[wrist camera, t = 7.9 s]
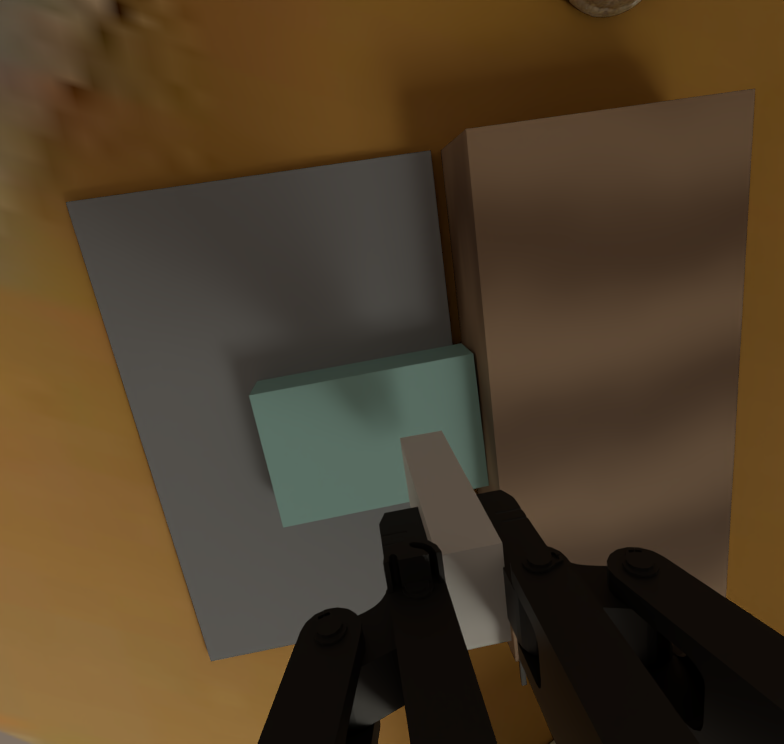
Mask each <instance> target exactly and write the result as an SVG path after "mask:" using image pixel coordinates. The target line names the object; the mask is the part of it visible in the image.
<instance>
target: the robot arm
mask: <svg viewBox="0 0 784 744" xmlns="http://www.w3.org/2000/svg"><path fill="white" fill-rule="evenodd" d="M400 443H401V449H402V456H403V462H404V469H405V475H406V482H407V488H408V495H409V501H410V507H411V508H408V509H403V510H397V511H392V512H387V513H384V515H383V517H382V519H381V521H380V523H379V528H380V535H381V542H382V548H383V555H384V559H383V566H384V572H385V578H386V583H387V590H386V593H385V595H384V597H383V598H382V599H381V601H380V602H379V603H378V604H377V605H375V606H374V607H373V608H371V609H369V610H368V611H366V612H364V613H362V614H360V615H357V614H356V613H355V612H353V611H351V610H349V609H347V608H339V607H336V608H330V609H325V610H323V611H321V612H319V613H317V614H315V615H314V616H313V617H311V618H310V619H309V620H308V621H307V622H306V623H305V625H304V626H303V628H302V629H301V631H300V633H299V636H298V639H297V641H296V644H295V647H294V649H293V652H292V654H291V657H290V660H289V662H288V665H287V668H286V670H285V673H284V675H283V678H282V681H281V683H280V686H279V689H278V691H277V694H276V697H275V699H274V702H273V704H272V707H271V710H270V712H269V715H268V718H267V720H266V723H265V725H264V728H263V731H262V733H261V736H260V739H259V741H258V744H378V738H379V731H380V719H382V718H384V717H385V716H387V715H389V714H390V713H392V712H394V711H396V710H397V709H399V708H401V707H402V706H404V705H405V710H406V717H407V724H408V730H409V737H410V744H497V741H496V738H495V735H494V732H493V729H492V726H491V722H490V719H489V716H488V713H487V710H486V707H485V704H484V700H483V697H482V694H481V691H480V688H479V685H478V682H477V679H476V675H475V672H474V669H473V666H472V663H471V660H470V657H469V653H468V650H469V649H474V648H479V647H483V646H488V645H493V644H498V643H502V642H507V641H512V639H511V629H510V624H511V626H512V629H513V631H514V633H515V635H516V638H517V645H518V656H519V667H520V677H521V683H522V686H523V685H527V682H526V675H527V678H528V680H529V682H530V685H531V687H532V689H533V692H534V694H535V696H536V699H537V701H538V703H539V706H540V708H541V710H542V713H543V715H544V717H545V720H546V722H547V724H548V727H549V729H550V731H551V734H552V736H553V738H554V741H555V743H556V744H784V636H782V635H781V634H779V633H778V632H776V631H775V630H773V629H772V628H770V627H769V626H767V625H766V624H764V623H763V622H761V621H760V620H758V619H757V618H755V617H754V616H752V615H751V614H749V613H748V612H746V611H745V610H743V609H742V608H740V607H739V606H737V605H736V604H734V603H733V602H731V601H730V600H728V599H727V598H725V597H724V596H722V595H721V594H719V593H718V592H716V591H715V590H713V589H712V588H710V587H709V586H707V585H706V584H704V583H703V582H701V581H700V580H698V579H697V578H695V577H694V576H692V575H691V574H689V573H688V572H686V571H685V570H683V569H682V568H680V567H679V566H677V565H676V564H674V563H673V562H671V561H670V560H668V559H667V558H665V557H664V556H662V555H660V554H658V553H656V552H654V551H652V550H648V549H644V548H640V547H625V548H621V549H617V550H615V551H614V552H612V553H611V554H610V555H609V557H608V559H607V566H594V565H580V564H575V563H571V562H570V561H569V560H568V558H567V557H566V556H565V555H564V554H563V553H561V552H560V551H558V550H556V549H554V548H552V547H548V546H547V545H546V544H545V542H544V541H543V539H542V538H541V536H540V535H539V534H538V532H537V531H536V529H535V528H534V526H533V525H532V523H531V522H530V520H529V519H528V518H527V516H526V514H525V513H524V511H523V510H521V507H520V506H519V504H518V503H517V501H516V500H515V498H514V497H513V496H511V495H509V494H508V493H506V492H504V491H502V490H496V491H491V492H486V493H480V494H476V493H475V491H474V490H473V488H472V486H471V484H470V482H469V480H468V478H467V477H466V475H465V473H464V471H463V469H462V467H461V466H460V464H459V462H458V460H457V458H456V456H455V454H454V453H453V451H452V449H451V447H450V445H449V443H448V441H447V440H446V438H445V436H444V434H443V432H442V431H436V432H431V433H425V434H420V435H414V436H409V437H403V438H400Z"/></svg>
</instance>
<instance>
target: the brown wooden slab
mask: <svg viewBox="0 0 784 744" xmlns="http://www.w3.org/2000/svg"><path fill="white" fill-rule="evenodd" d="M754 101H755V89H749V90H742V91H734V92H727V93H720V94H713V95H706V96H699V97H691V98H684V99H677V100H670V101H663V102H656V103H648V104H641V105H634V106H627V107H620V108H613V109H606V110H598V111H591V112H584V113H577V114H570V115H563V116H555V117H548V118H541V119H534V120H527V121H520V122H513V123H505V124H498V125H491V126H484V127H477V128H470V129H465V130H464V131H463V132H462V133H461V134H460V135H458V136H457V137H456V138H455V139H454V140H453V141H451V142H450V143H449V144H448V145H447V146H445V147H444V148H443V149H442V150H441V157H442V166H443V175H444V184H445V194H446V203H447V212H448V222H449V231H450V240H451V249H452V259H453V268H454V277H455V286H456V296H457V305H458V314H459V323H460V333H461V342H462V344H463V345H464V346H465V347H466V348H467V349H468V350H470V351H471V352H472V353H473V355H474V364H475V372H476V380H477V389H478V397H479V406H480V414H481V423H482V431H483V440H484V448H485V457H486V465H487V473H488V482H489V486H485V487H480V488H477V490H478V494H480V493H486V492H491V491H496V490H502V491H504V492H506V493H508V494H509V495H511V496H513V497H514V498H515V500H516V501H517V503H518V504H519V506H520V507H521V510H523V511H524V513H525V514H526V516H527V518H528V519H529V520H530V522H531V523H532V525H533V526H534V528H535V529H536V531H537V532H538V534H539V535H540V536H541V538H542V539H543V541H544V542H545V544H546V545H547V546H548V547H552V548H554V549H556V550H558V551H560V552H561V553H563V554H564V555H565V556H566V557H567V558H568V560H569V561H570V562H571V563H575V564H580V565H594V566H607V559H608V557H609V555H610V554H611V553H612V552H614V551H615V550H617V549H621V548H625V547H640V548H644V549H648V550H652V551H654V552H656V553H658V554H660V555H662V556H664V557H665V558H667V559H668V560H670V561H671V562H673V563H674V564H676V565H677V566H679V567H680V568H682V569H683V570H685V571H686V572H688V573H689V574H691V575H692V576H694V577H695V578H697V579H698V580H700V581H701V582H703V583H704V584H706V585H707V586H709V587H710V588H712V589H713V590H715V591H716V592H718V593H719V594H721V595H722V596H724V597H725V598H726V586H727V569H728V552H729V534H730V517H731V500H732V482H733V465H734V448H735V430H736V413H737V396H738V378H739V361H740V344H741V326H742V309H743V292H744V275H745V257H746V240H747V223H748V205H749V188H750V171H751V153H752V136H753V119H754ZM510 629H511V639H512V641H507V642H508V644H509V647H510V649H511V651H512V654H513V656H514V658H515V661H519V656H518V645H517V638H516V635H515V633H514V631H513V629H512V626H511V624H510Z"/></svg>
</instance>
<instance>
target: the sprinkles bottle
mask: <svg viewBox="0 0 784 744" xmlns="http://www.w3.org/2000/svg"><path fill="white" fill-rule="evenodd" d="M569 1H570V3H571V4H572V5H573V6H575V7H576V8H577V9H579V10H580V11H582V12H583V13H586V14H589V15H591V16H593V17H609V16H613V15H618V14H621V13H623V12H625V11H627V10H629V9H631V8H632V7H634V6H635V5H637V4H638V3H639V2H640V1H641V0H569Z"/></svg>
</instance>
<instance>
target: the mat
mask: <svg viewBox="0 0 784 744" xmlns="http://www.w3.org/2000/svg"><path fill="white" fill-rule="evenodd" d="M66 205H67V208H68V211H69V214H70V217H71V220H72V224H73V227H74V230H75V233H76V236H77V239H78V243H79V246H80V249H81V252H82V255H83V258H84V262H85V265H86V268H87V271H88V274H89V277H90V280H91V284H92V287H93V290H94V293H95V296H96V299H97V303H98V306H99V309H100V312H101V315H102V318H103V322H104V325H105V328H106V331H107V334H108V337H109V340H110V344H111V347H112V350H113V353H114V356H115V359H116V363H117V366H118V369H119V372H120V375H121V378H122V382H123V385H124V388H125V391H126V394H127V397H128V401H129V404H130V407H131V410H132V413H133V416H134V419H135V423H136V426H137V429H138V432H139V435H140V438H141V442H142V445H143V448H144V451H145V454H146V457H147V461H148V464H149V467H150V470H151V473H152V476H153V479H154V483H155V486H156V489H157V492H158V495H159V498H160V502H161V505H162V508H163V511H164V514H165V517H166V521H167V524H168V527H169V530H170V533H171V536H172V539H173V543H174V546H175V549H176V552H177V555H178V558H179V562H180V565H181V568H182V571H183V574H184V577H185V581H186V584H187V587H188V590H189V593H190V596H191V599H192V603H193V606H194V609H195V612H196V615H197V618H198V622H199V625H200V628H201V631H202V634H203V637H204V641H205V644H206V647H207V650H208V653H209V656H210V659H211V661H215V660H220V659H224V658H229V657H234V656H239V655H244V654H249V653H254V652H259V651H263V650H268V649H273V648H278V647H283V646H288V645H293V644H296V641H297V639H298V636H299V633H300V631H301V629H302V628H303V626H304V625H305V623H306V622H307V621H308V620H309V619H310V618H311V617H313V616H314V615H315V614H317V613H319V612H321V611H323V610H325V609H330V608H336V607H339V608H347V609H349V610H351V611H353V612H355V613H356V614H357V615H360V614H362V613H364V612H366V611H368V610H369V609H371V608H373V607H374V606H375V605H377V604H378V603H379V602H380V601H381V599H382V598H383V597H384V595H385V593H386V590H387V583H386V578H385V572H384V566H383V559H384V555H383V548H382V542H381V535H380V528H379V523H380V521H381V519H382V517H383V515H384V513H387V512H392V511H397V510H403V509H408V508H411V507H410V502H406V503H401V504H397V505H392V506H387V507H382V508H377V509H372V510H367V511H362V512H357V513H352V514H347V515H343V516H338V517H333V518H328V519H323V520H318V521H313V522H308V523H303V524H298V525H294V526H289V527H284V528H283V525H282V521H281V517H280V513H279V509H278V505H277V502H276V498H275V494H274V490H273V486H272V482H271V479H270V475H269V471H268V467H267V463H266V459H265V455H264V452H263V448H262V444H261V440H260V436H259V432H258V429H257V425H256V421H255V417H254V413H253V409H252V405H251V402H250V398H249V395H250V393H251V391H252V389H253V387H254V386H255V384H256V382H257V381H260V380H266V379H271V378H276V377H282V376H287V375H293V374H298V373H303V372H309V371H314V370H320V369H325V368H330V367H336V366H341V365H347V364H352V363H357V362H363V361H368V360H374V359H379V358H384V357H390V356H395V355H401V354H406V353H411V352H417V351H422V350H428V349H433V348H438V347H444V346H449V345H453V344H452V336H451V327H450V318H449V309H448V300H447V291H446V283H445V274H444V265H443V256H442V247H441V239H440V230H439V221H438V212H437V203H436V195H435V186H434V177H433V168H432V159H431V150H430V151H423V152H416V153H409V154H402V155H395V156H388V157H381V158H374V159H367V160H360V161H353V162H346V163H338V164H331V165H324V166H317V167H310V168H303V169H296V170H289V171H282V172H275V173H268V174H261V175H254V176H247V177H240V178H233V179H226V180H219V181H212V182H205V183H198V184H191V185H184V186H176V187H169V188H162V189H155V190H148V191H141V192H134V193H127V194H120V195H113V196H106V197H99V198H92V199H85V200H78V201H71V202H66Z"/></svg>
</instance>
